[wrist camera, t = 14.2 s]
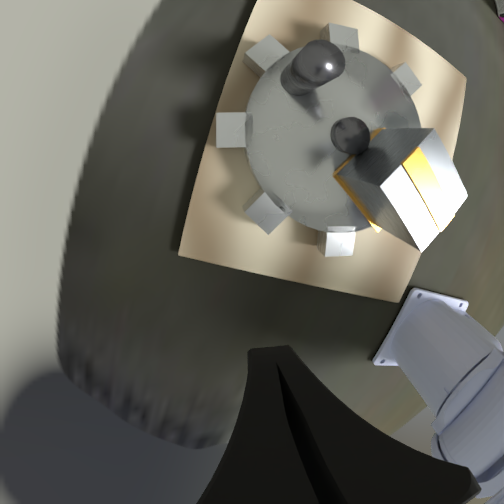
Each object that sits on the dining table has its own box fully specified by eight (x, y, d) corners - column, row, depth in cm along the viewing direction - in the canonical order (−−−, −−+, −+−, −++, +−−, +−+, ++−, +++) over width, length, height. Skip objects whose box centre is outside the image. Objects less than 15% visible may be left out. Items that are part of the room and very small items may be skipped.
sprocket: (330, -1, 12) (368, -40, 7) (449, 155, 16) (504, 165, 11) (164, 134, 14) (137, 127, 9) (325, 287, 19) (359, 336, 13)
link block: (382, 129, 14) (435, 128, 9) (416, 181, 15) (469, 196, 11) (336, 174, 14) (381, 186, 10) (375, 225, 16) (423, 252, 11)
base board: (461, 78, 15) (466, 78, 14) (394, 299, 21) (398, 303, 20) (269, -26, 11) (270, -31, 11) (179, 251, 17) (177, 255, 17)
